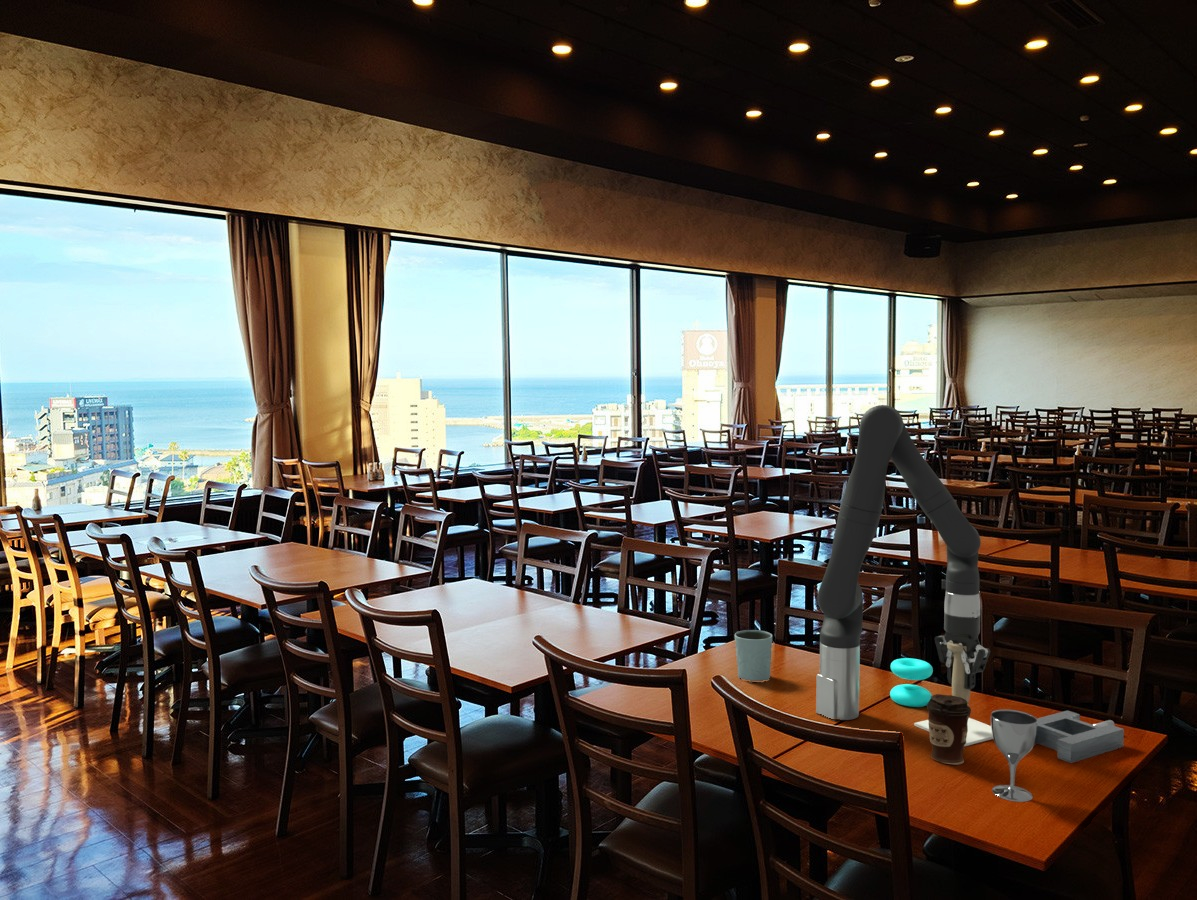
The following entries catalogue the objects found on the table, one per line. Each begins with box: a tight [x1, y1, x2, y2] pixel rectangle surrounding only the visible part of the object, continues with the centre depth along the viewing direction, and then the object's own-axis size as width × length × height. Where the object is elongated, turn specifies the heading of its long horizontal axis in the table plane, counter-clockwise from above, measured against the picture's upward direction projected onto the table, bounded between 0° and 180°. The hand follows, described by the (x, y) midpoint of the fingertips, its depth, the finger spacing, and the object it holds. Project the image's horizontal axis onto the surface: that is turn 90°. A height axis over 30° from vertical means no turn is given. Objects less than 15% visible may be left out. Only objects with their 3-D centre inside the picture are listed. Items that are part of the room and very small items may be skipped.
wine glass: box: [990, 708, 1037, 803], centre depth 167 cm, size 8×8×15 cm
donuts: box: [889, 657, 934, 708], centre depth 219 cm, size 10×10×10 cm
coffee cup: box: [926, 693, 972, 766], centre depth 183 cm, size 9×8×13 cm
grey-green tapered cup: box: [734, 629, 773, 681], centre depth 238 cm, size 10×10×12 cm
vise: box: [1034, 710, 1125, 764], centre depth 193 cm, size 24×13×4 cm, turn 118°
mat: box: [913, 717, 993, 747], centre depth 200 cm, size 14×14×1 cm
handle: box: [947, 642, 971, 707], centre depth 199 cm, size 5×6×15 cm
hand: (961, 685), depth 199 cm, fingers closed on handle, 4 cm apart
